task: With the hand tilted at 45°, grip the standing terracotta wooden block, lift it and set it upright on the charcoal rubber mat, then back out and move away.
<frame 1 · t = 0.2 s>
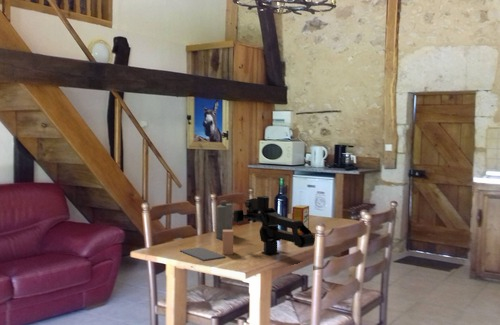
hand: (240, 212, 279), 16 cm above the table, tool horizontal, fingers open, 9 cm apart
baking soda box: (300, 233, 313), on the table
charcoal mat: (202, 254, 256), on the table
flask: (223, 236, 299), on the table
terracotta block: (227, 252, 260), on the table
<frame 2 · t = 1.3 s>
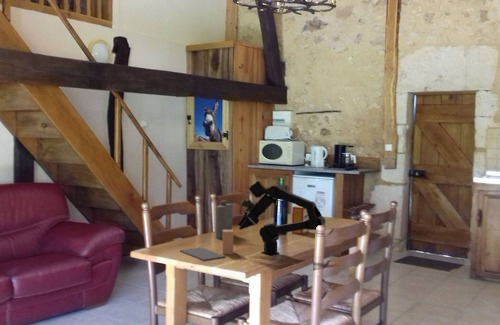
hand: (239, 227, 260), 13 cm above the table, tool tilted 45°, fingers open, 9 cm apart
nothing on the table moved.
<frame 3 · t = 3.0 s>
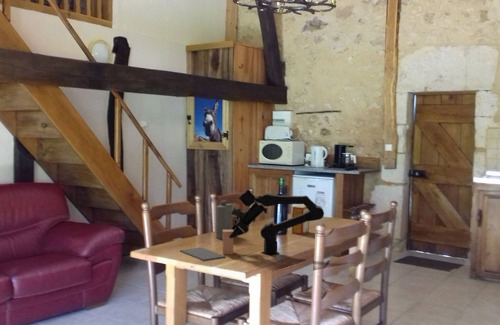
hand: (229, 235, 259), 8 cm above the table, tool tilted 45°, fingers open, 9 cm apart
nothing on the table moved.
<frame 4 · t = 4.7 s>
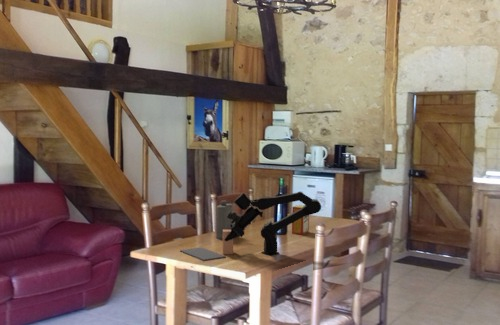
hand: (225, 239, 259), 7 cm above the table, tool tilted 45°, fingers closed on terracotta block, 5 cm apart
terracotta block: (227, 252, 260), on the table, touching gripper
everything else where it was.
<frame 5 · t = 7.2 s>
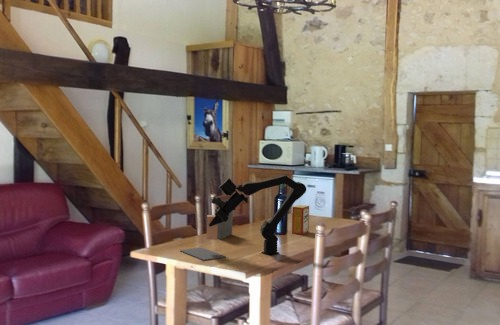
hand: (209, 224, 256), 14 cm above the table, tool tilted 45°, fingers closed on terracotta block, 5 cm apart
terracotta block: (211, 238, 257), point 7 cm above the table, touching gripper
everything else where it was.
when the fingers open (8 cm above the table, at t = 9.8 s): terracotta block drops 1 cm, resting on charcoal mat.
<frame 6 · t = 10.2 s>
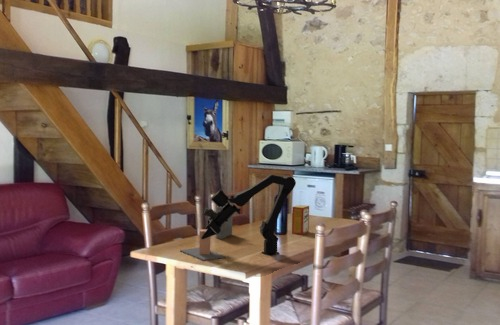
hand: (201, 236, 255), 9 cm above the table, tool tilted 45°, fingers open, 9 cm apart
terracotta block: (204, 253, 256), point 1 cm above the table, touching charcoal mat
everything else where it was.
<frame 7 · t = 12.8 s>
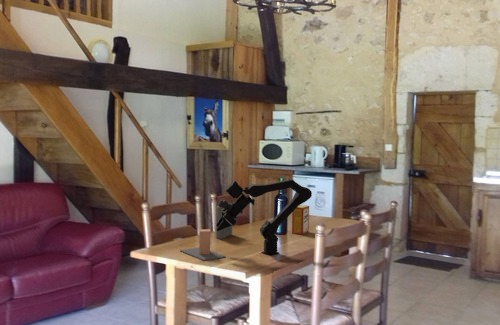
hand: (216, 228, 256), 13 cm above the table, tool tilted 45°, fingers open, 9 cm apart
nothing on the table moved.
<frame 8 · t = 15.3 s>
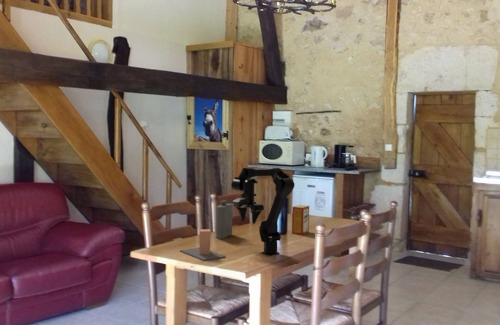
hand: (248, 222, 271), 13 cm above the table, tool pointing down, fingers open, 9 cm apart
nothing on the table moved.
at the end: terracotta block inside the target area on the charcoal mat (1.1 cm from its centre), point 0.6 cm above the charcoal mat's base; terracotta block tilted 0°; the gripper is holding nothing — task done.
